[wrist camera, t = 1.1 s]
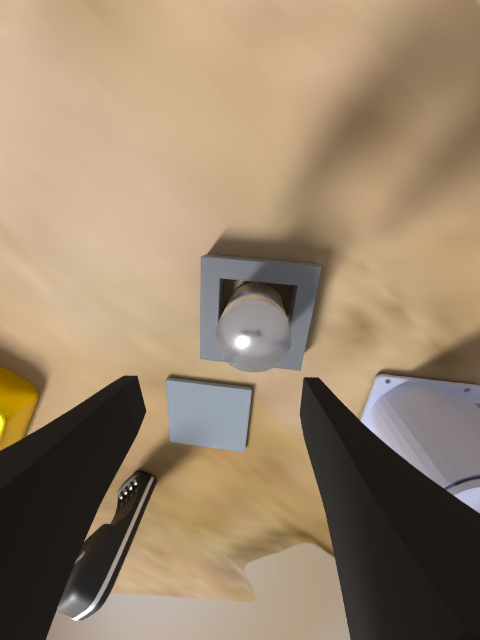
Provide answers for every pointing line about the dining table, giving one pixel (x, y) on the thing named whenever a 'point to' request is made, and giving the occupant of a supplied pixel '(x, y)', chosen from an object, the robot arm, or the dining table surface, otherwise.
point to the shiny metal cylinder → (253, 329)
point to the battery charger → (106, 551)
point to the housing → (258, 271)
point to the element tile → (15, 407)
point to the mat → (208, 413)
